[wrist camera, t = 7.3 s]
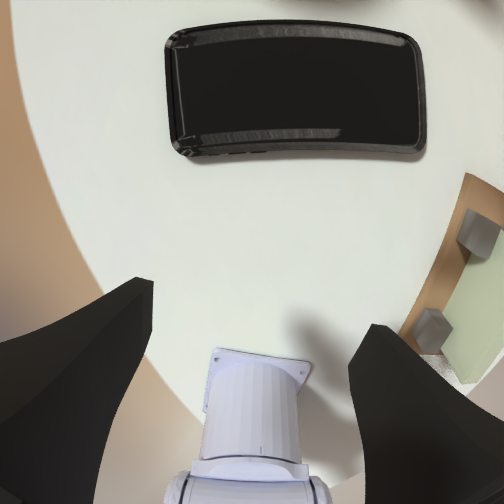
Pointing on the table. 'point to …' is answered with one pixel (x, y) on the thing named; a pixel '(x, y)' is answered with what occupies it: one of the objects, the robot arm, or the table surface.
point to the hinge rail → (454, 262)
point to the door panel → (476, 316)
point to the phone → (294, 88)
